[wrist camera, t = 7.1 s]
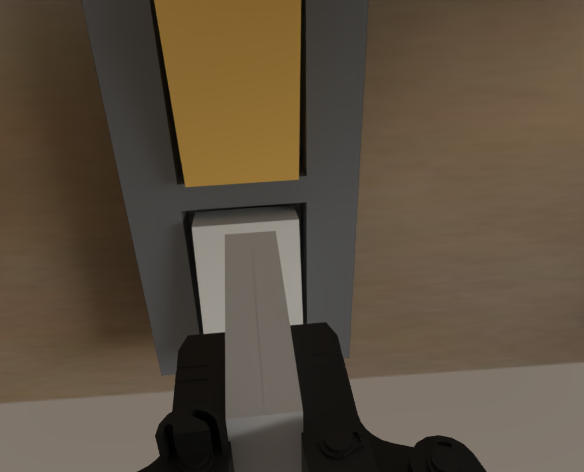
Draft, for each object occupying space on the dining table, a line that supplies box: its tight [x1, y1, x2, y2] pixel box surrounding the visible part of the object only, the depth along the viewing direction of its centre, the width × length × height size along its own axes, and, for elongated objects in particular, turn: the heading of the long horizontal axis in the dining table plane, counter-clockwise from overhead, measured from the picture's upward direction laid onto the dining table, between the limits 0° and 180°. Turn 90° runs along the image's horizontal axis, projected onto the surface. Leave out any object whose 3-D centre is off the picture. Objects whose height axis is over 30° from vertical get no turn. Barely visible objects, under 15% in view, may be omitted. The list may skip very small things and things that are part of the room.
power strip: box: [81, 0, 369, 376], centre depth 24 cm, size 38×11×5 cm, turn 1°
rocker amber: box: [154, 0, 301, 187], centre depth 22 cm, size 8×5×2 cm, turn 1°
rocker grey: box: [192, 205, 303, 334], centre depth 28 cm, size 8×5×2 cm, turn 1°
